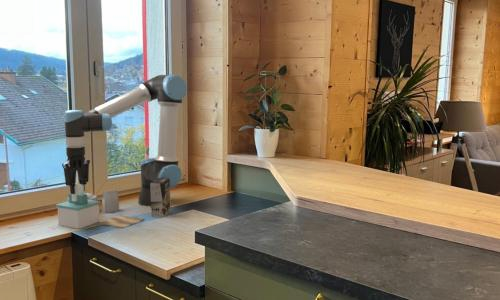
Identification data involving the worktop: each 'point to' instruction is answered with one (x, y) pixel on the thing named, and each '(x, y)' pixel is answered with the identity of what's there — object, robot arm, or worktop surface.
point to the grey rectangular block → (110, 201)
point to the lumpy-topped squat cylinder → (89, 197)
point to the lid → (78, 202)
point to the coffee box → (160, 197)
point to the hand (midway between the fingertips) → (78, 199)
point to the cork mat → (121, 221)
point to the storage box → (78, 217)
